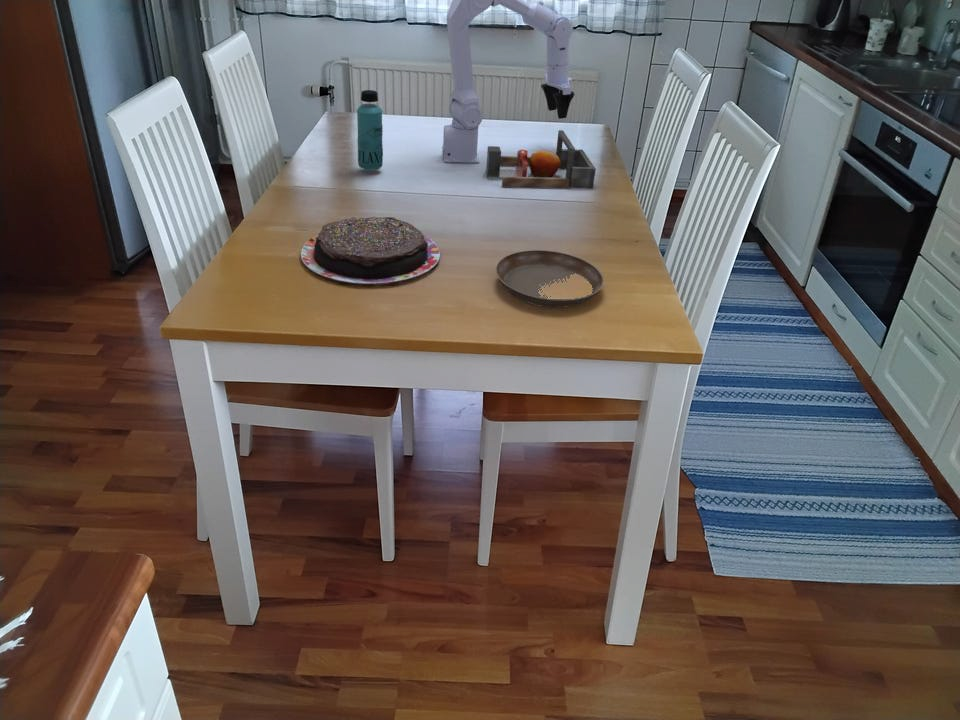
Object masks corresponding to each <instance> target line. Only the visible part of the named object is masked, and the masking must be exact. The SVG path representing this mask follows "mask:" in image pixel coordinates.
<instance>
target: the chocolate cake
mask: <svg viewBox="0 0 960 720" xmlns="http://www.w3.org/2000/svg"><path fill="white" fill-rule="evenodd" d="M440 258H441V251H440V248H439V245H437V244H436V242H435V241H433V239H431V238H429V237H427V236H426V235H424V234H423V233H422V231H421V230H419V229H418V228H417V227H415V226H414V225H413V224H411V223H409V222H406V221H405V220H401V219H400V218H399V219H398V218H397V217H392V216H389V217H388V216H386V217H384V216H383V217H378V216H377V217H376V216H370V217H350V218H345V219H341V220H339V221H334V222H328V223H326V224H323V225H322V227H321V230H320V231H319V233H318V234H316V235H315V236H313V237H311V238H310V239H309V240H307V241H306V242H305V243H304V244H303V246H302V247H301V250H300V260H301V261H302V263H303V264H304V265H305V267H306V268H307V269H308V270H309V271H310V272H312V273H313V274H315V275H317V276H319V277H321V278H324V279H326V280H328V281H330V282H334V283H337V284H340V285H348V284H352V285H357V286H361V287H363V288H366V287H367V288H372V287H375V286H377V285H383V286H386V287H387V286H389V287H394V286H396V285H398V284H401V282H402V283H406V282H408V281H411V280H413V279H417V278H418V277H420V276H422V275H424V274H427V273H429V272H430V271H431V270H433V269H435V268H436V267H435V266H437V264H438V263H439V262H440ZM405 281H406V282H405Z"/></svg>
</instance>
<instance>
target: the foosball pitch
mask: <svg viewBox="0 0 960 720" xmlns="http://www.w3.org/2000/svg"><path fill="white" fill-rule="evenodd" d="M557 133H558V134H557V141H556V150H555V154H556V155H557V156H558V157H559V159H560V162H561V165H560V167H559V169H561V170H562V169H563V170H564V169H565V171H566V172H565V177H551V178H545V177H533V176H527V177H503V178H502V182H501V187H502V188H521V189H524V188H525V189H529V188H530V189H569V188H578V189H579V188H581V189H582V188H583V189H584V188H585V189H593V188H594V183H595V177H596V171H597V170H596V167H595V166H594V164H593V163H592V161H591V160H590V158H589V157H588V155H587V154H586V152H585V151H584V150H583V149H577V148H575V146H574V145H573V144H572V142H571V140H570V139H569V137H568V136H567V134H566V132H565V131H564V130H561V129H559V130H558V131H557ZM563 144H564V145H565V147H566V148H565V149H564V148H563ZM530 158H531V156H527V158H526V161H527V163H528V168H530ZM516 163H517V155H516V156H515V155H512V156H509V155H501V161H500V167H516ZM559 169H558V170H559Z"/></svg>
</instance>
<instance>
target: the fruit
mask: <svg viewBox="0 0 960 720" xmlns="http://www.w3.org/2000/svg"><path fill="white" fill-rule="evenodd" d="M530 157H531V158H530V167H529V170H530V175H532V177H545V178H554V176H555V175H556V174H557V172H558V170H559V167H560V165H561V162H560V159H559V157H558V156H557V155H556V153H553V152H551V151H548V150H545V149H544V150H543V149H542V150H538V151H536V152H535V151H534V152H533V153H531V155H530Z"/></svg>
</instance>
